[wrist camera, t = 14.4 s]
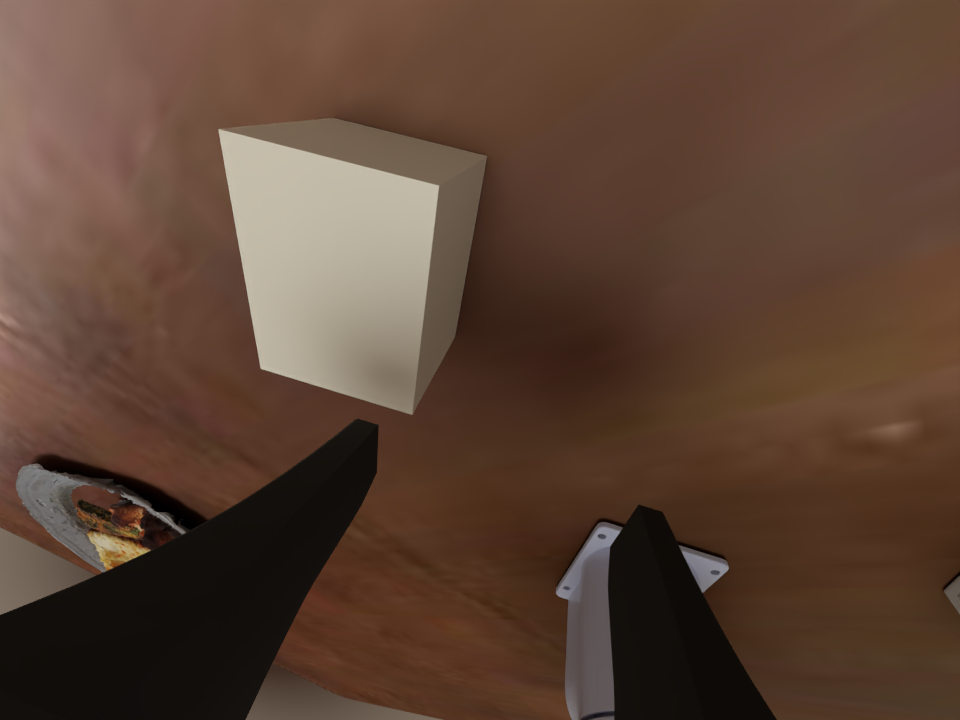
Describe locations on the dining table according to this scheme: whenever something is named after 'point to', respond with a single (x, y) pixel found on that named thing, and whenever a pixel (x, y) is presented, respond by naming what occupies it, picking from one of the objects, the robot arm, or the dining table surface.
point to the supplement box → (954, 593)
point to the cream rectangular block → (352, 251)
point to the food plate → (94, 517)
